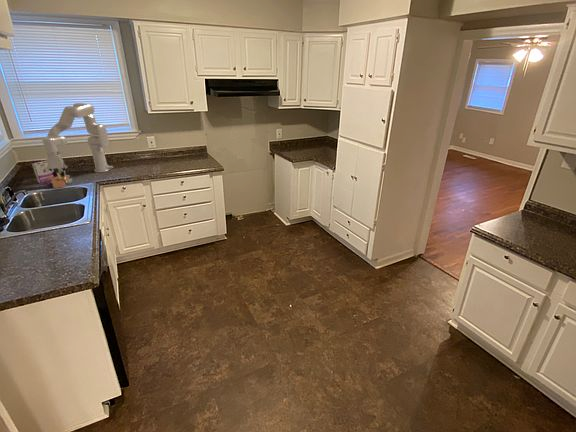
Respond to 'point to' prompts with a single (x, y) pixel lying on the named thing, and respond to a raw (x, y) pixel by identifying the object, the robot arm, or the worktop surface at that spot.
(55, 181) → the rosette post
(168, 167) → the worktop surface
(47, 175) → the candy bar box
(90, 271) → the worktop surface
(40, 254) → the worktop surface
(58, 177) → the locking pin
